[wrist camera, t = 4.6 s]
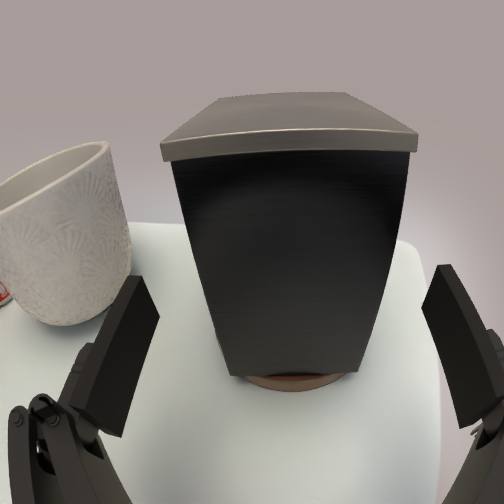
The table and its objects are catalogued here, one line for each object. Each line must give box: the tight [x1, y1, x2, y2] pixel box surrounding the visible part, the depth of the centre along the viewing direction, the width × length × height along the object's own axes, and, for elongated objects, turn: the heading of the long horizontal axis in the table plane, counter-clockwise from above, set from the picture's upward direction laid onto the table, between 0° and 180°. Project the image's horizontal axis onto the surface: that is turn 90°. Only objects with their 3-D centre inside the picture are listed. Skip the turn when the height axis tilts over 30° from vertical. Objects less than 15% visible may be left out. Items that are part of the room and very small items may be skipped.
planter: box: [0, 141, 132, 326], centre depth 26 cm, size 17×17×15 cm
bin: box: [160, 92, 418, 376], centre depth 19 cm, size 9×14×16 cm, turn 176°
